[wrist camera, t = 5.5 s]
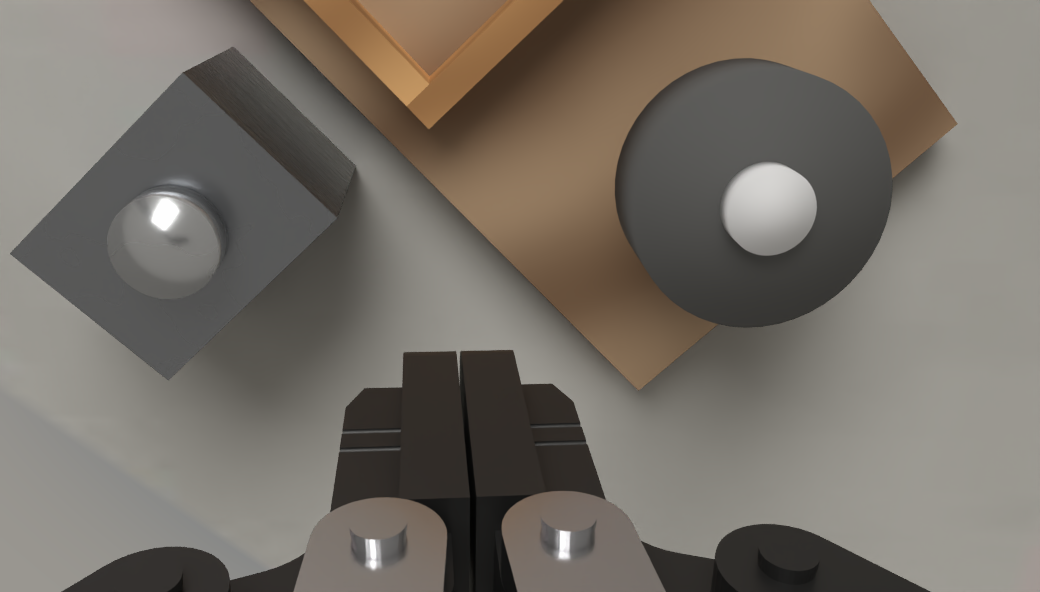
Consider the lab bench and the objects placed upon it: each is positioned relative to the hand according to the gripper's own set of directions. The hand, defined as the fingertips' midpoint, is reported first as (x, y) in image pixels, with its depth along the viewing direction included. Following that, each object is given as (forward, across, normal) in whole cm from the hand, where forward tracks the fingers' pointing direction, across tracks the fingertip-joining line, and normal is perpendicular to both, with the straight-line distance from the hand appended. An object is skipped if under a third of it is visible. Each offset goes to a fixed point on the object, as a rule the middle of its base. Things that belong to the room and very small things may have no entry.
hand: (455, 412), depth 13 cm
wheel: (+10, -7, -1) cm, 13 cm away
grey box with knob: (+15, +6, +1) cm, 17 cm away
